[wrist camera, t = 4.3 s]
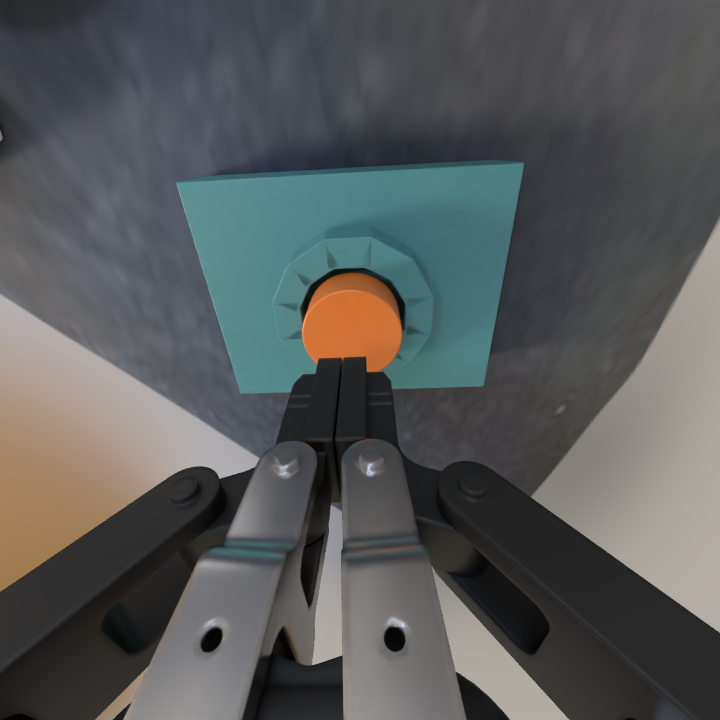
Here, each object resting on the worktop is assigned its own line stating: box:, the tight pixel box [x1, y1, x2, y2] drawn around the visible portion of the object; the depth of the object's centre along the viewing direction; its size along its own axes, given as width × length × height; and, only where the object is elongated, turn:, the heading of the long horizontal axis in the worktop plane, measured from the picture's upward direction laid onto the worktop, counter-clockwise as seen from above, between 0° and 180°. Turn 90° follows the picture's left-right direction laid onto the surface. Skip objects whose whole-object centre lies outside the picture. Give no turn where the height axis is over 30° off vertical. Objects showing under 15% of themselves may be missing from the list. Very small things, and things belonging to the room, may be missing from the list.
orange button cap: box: [302, 272, 402, 372], centre depth 14 cm, size 4×4×2 cm
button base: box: [176, 159, 524, 394], centre depth 17 cm, size 14×11×5 cm
